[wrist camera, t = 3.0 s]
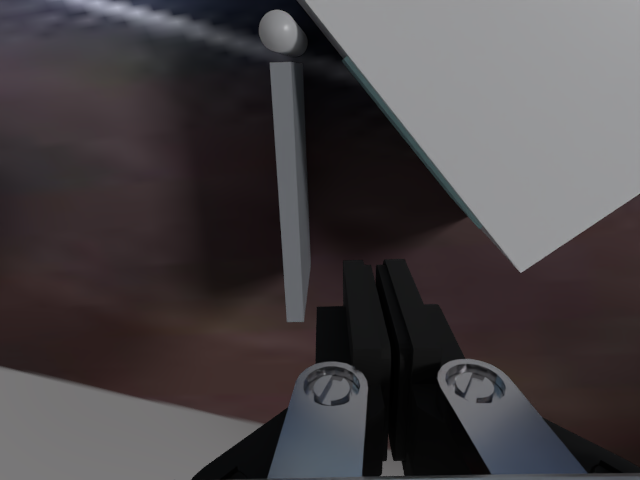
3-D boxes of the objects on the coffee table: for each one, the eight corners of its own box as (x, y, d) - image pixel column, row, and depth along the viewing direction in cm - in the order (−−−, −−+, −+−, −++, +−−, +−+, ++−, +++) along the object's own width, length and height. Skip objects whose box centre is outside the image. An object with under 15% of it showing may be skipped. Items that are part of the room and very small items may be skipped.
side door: (315, 262, 23) (309, 324, 17) (293, 262, 23) (280, 324, 17) (307, 26, 19) (295, 9, 13) (280, 27, 19) (257, 10, 13)
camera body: (614, 109, 20) (755, 130, 13) (466, 218, 22) (523, 282, 15) (410, -222, 16) (466, -435, 9) (254, -47, 18) (207, -115, 11)
